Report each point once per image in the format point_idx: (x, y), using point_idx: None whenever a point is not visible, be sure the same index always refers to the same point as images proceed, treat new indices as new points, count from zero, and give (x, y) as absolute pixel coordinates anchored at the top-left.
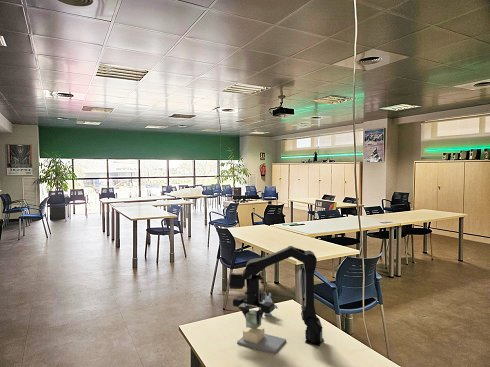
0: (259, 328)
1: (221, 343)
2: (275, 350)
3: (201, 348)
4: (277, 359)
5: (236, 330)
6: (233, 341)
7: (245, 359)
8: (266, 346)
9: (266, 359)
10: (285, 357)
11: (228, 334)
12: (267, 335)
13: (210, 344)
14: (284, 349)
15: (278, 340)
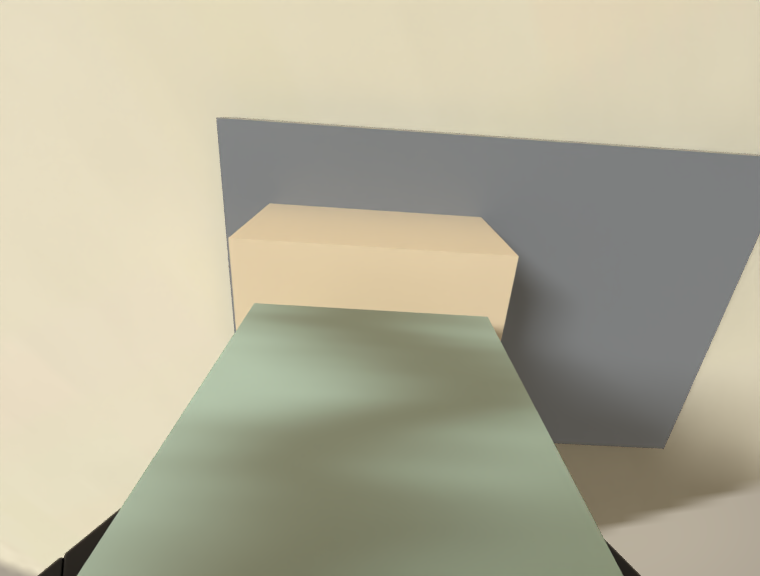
0: (446, 310)
1: (118, 457)
2: (671, 425)
3: (46, 558)
4: (684, 477)
5: (31, 160)
6: (189, 391)
7: None
8: (566, 398)
9: (593, 504)
10: (754, 433)
11: (34, 294)
12: (514, 172)
13: (52, 499)
14: (744, 326)
15: (686, 235)
